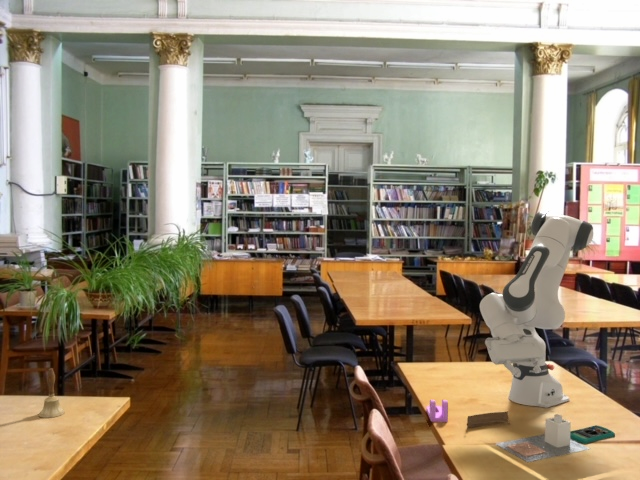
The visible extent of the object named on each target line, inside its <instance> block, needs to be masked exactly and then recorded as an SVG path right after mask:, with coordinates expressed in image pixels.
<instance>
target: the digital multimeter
mask: <svg viewBox="0 0 640 480" xmlns="http://www.w3.org/2000/svg"><path fill="white" fill-rule="evenodd" d="M608 438H616V433H615V432H614V431H613V430H610V429H608V428H606V427H603V426H601V425H591V426H588V427H585V428H579V429H575V430H574V429H573V430H570V439H571V440H573V441H575V442H577V443H579V444H582V445H586V444H591V443H593V442H598V441H601V440H605V439H608Z"/></svg>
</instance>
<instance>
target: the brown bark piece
mask: <svg viewBox="0 0 640 480" xmlns="http://www.w3.org/2000/svg"><path fill="white" fill-rule="evenodd" d="M466 420H467V422H466V429H467V430H470V429H475V428H480V427H487V426H493V425H511V423H510V422H509V421H510V420H509V411H503V412H502V411H497V412H487V413H479V414H473V415H468V416H467V419H466Z"/></svg>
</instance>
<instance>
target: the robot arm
mask: <svg viewBox="0 0 640 480" xmlns="http://www.w3.org/2000/svg"><path fill="white" fill-rule="evenodd" d="M530 232H531V234H532V235H533V236H534V239H533V242H532V244H531V246H530V249H529V252H528V254H527V256H526V257H525V259H524V261H523V262H522V265H521V266H520V268H519V271H518V272H517V274H515V276H514V277H512V279H511V280H510V281H509V282H507V284H506V285H505V286H504V288H503V291H502V294H500V293H497V292H491V293H489V294H486V295H485V296H484V297H483V298H482V299H481V300H480V303H479V311H480V314H481V316H482V319H483V320H484V323H485V325H486V326H487V327H488V328H489V330H490V335H491V336H492V337H487V338H486V339H485V341H484V344H485V346H486V348H487V352H488V355H489V358H490V360H491V362H492V363H493V364H494V365H496V366H497V365H503V366H504V368H506V369H507V370H508V371H509V372H510V373H511V375H512V380H511V385H510V390H509V395H508V399H509V401H512V402H514V403H516V404H519V405H520V404H521V405H523V406H530V407H531V406H532V407H540V408H550V407H554V406H556V405H560V404H564V403H566V402H570V397H569V396H568V395H567V394H564V392H563V385H562V383H561V382H560V381H559V380H558V379H556V378H555V377H554V376H553V375H552V374H551V373H550V372H549V370H551V371H554V369H555V365H554V364H550V363H548V364H547V362H546V354H547V353H546V349H547V345H546V342H545V341H544V339H543V338H542V337H540V336H539V333H538V332H537V331H536V328H537V329H542V330H557V329H559V328H560V327H561V326H562V325H563V323H564V322H565V318H566V310H565V309H564V307H563V305H562V304H561V302H560V300H559V288H560V285H561V282H562V280H563V277H564V275H565V271H566V269H567V267H568V263H569V260H570V255H571V250H573V252H572V253H573V254H575V253H577V251H578V252H579V251H582V250H584V249H586V248H587V247H588V246H589V245H590V243H591V242H592V240H593V239H594V226H593V224H591V222H588V221H586V220H581V219H578V218H576V217H572V216H569V215H564V214H559V213H556V212H555V213H554V212H550V211H547V210H540V211H538V212H536V213H535V214H534V216H533V217H532V220H531V222H530Z"/></svg>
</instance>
